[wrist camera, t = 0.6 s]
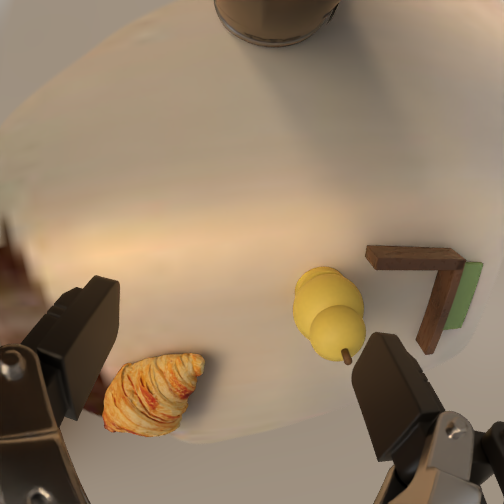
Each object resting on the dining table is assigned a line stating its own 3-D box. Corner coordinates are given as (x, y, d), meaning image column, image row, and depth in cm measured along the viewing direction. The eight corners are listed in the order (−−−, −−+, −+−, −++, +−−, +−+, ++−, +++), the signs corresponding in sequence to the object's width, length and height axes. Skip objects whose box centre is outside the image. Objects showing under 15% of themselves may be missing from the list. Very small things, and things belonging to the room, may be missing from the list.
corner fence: (366, 245, 29) (377, 258, 26) (451, 248, 29) (466, 259, 27) (345, 345, 34) (352, 362, 31) (423, 339, 34) (433, 354, 31)
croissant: (186, 314, 36) (146, 332, 28) (243, 382, 34) (214, 415, 26) (104, 392, 41) (68, 412, 34) (145, 444, 39) (114, 470, 32)
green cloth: (451, 261, 30) (453, 263, 29) (480, 261, 30) (483, 264, 30) (429, 328, 34) (431, 331, 33) (458, 325, 34) (461, 328, 33)
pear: (291, 259, 30) (312, 329, 20) (356, 261, 30) (400, 326, 20) (286, 317, 32) (300, 395, 22) (345, 316, 32) (377, 389, 22)
